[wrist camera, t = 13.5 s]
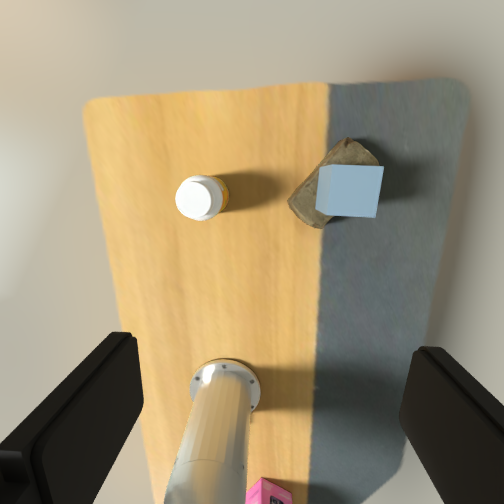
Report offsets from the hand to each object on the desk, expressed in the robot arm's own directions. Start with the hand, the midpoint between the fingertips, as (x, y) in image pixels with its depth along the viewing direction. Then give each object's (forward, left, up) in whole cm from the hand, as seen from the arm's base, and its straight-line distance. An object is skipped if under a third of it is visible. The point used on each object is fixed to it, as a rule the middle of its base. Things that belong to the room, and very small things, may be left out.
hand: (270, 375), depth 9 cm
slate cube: (+5, -9, -26) cm, 28 cm away
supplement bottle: (+4, +8, -31) cm, 32 cm away
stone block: (+6, -8, -31) cm, 32 cm away
